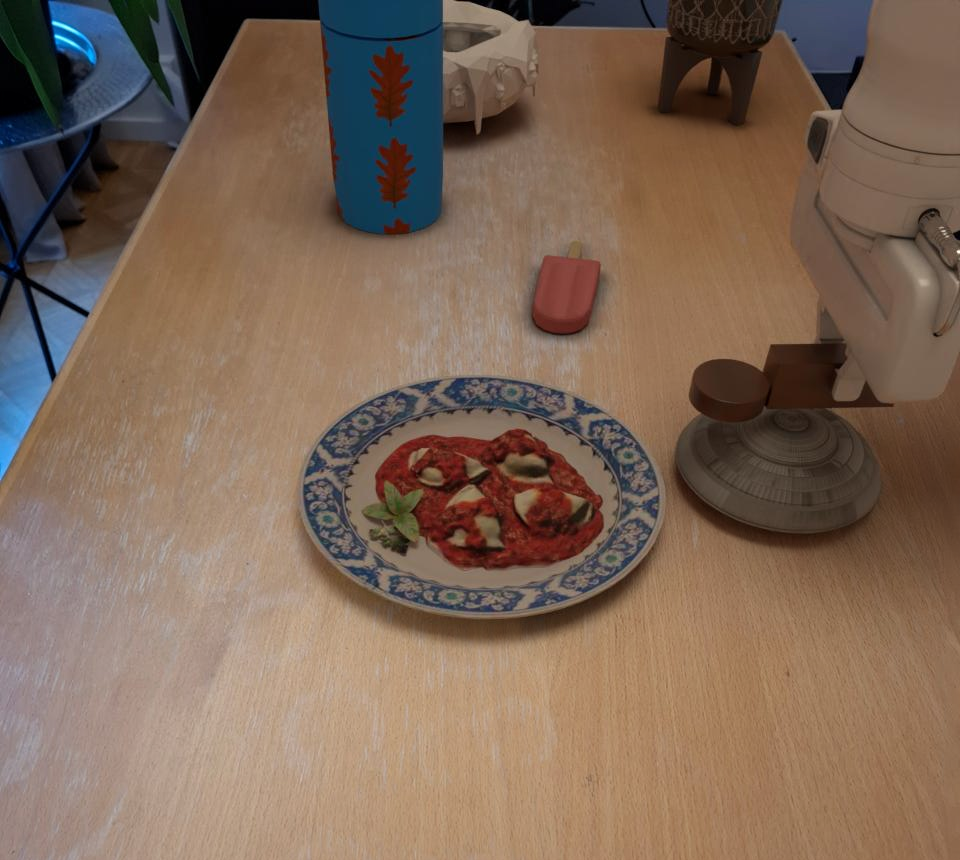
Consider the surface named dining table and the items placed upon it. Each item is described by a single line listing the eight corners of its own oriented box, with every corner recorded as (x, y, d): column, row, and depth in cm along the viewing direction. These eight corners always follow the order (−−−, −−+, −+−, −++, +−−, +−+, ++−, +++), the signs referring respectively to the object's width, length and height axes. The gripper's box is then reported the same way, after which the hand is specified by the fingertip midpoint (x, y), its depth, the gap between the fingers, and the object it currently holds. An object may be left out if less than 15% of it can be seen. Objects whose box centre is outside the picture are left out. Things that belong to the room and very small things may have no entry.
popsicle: (605, 238, 94) (589, 322, 85) (603, 253, 95) (587, 338, 86) (550, 231, 95) (527, 314, 85) (548, 247, 96) (526, 331, 86)
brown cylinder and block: (875, 375, 71) (892, 330, 68) (900, 419, 68) (919, 374, 65) (681, 378, 70) (691, 333, 67) (697, 423, 67) (708, 378, 64)
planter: (663, 80, 124) (690, -91, 111) (766, 97, 122) (806, -76, 108) (639, 119, 116) (665, -60, 103) (748, 138, 114) (789, -43, 100)
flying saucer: (809, 404, 80) (829, 344, 76) (916, 525, 71) (945, 465, 67) (640, 435, 77) (651, 375, 73) (728, 566, 68) (747, 505, 64)
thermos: (344, 239, 96) (319, -70, 77) (328, 189, 103) (302, -106, 84) (453, 229, 98) (456, -74, 79) (431, 181, 105) (429, -110, 86)
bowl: (321, 115, 115) (312, 17, 107) (440, 67, 125) (439, -25, 118) (456, 171, 106) (457, 69, 99) (571, 115, 117) (580, 19, 109)
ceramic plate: (600, 382, 82) (605, 350, 79) (714, 608, 65) (724, 577, 63) (285, 415, 77) (280, 383, 75) (322, 667, 61) (317, 635, 59)
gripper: (1035, 265, 51) (933, 475, 61) (896, 103, 64) (833, 299, 74) (915, 266, 50) (834, 478, 61) (801, 103, 64) (750, 300, 74)
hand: (832, 378), depth 68 cm, fingers closed on brown cylinder and block, 2 cm apart
